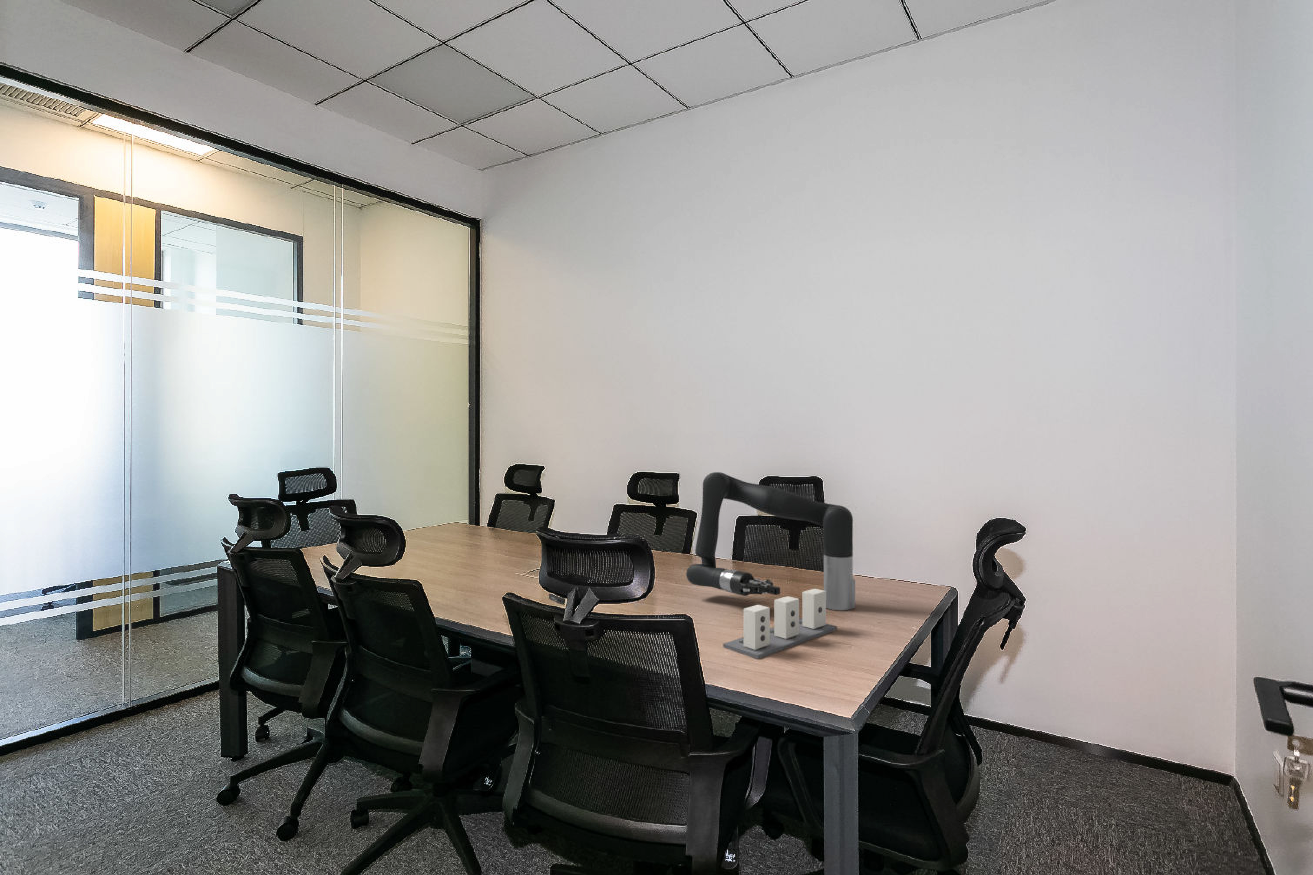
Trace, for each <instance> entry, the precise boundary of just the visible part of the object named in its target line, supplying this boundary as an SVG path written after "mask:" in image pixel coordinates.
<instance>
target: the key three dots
mask: <svg viewBox="0 0 1313 875" xmlns="http://www.w3.org/2000/svg"><path fill="white" fill-rule="evenodd" d="M770 612H771V611H770V607H768V606H765V605H761V604H756V605H752V606H748V607H744V608H743V612H742V613H743V637H744V646H745V647H748V648H751V649H754V650H756V649H759V648H762V647H764V646H767V645H770V628H771V627H770V625H771V624H770V623H771V620H770V619H771V618H770V617H771V616H770V615H771V613H770Z"/></svg>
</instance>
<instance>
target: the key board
mask: <svg viewBox="0 0 1313 875" xmlns="http://www.w3.org/2000/svg"><path fill="white" fill-rule="evenodd" d="M837 630H838V626H836V625H833V624H830V623H827V622H826V625H824V626H821V627H818V628H815V629H812V628H808V627H805V626H802V617H799V634H798V635H796V636H793V637H790V638H787V639H784V638H781V637H778V636H775V635H774V626H773V627H770V645H767V646H764V647H762V648H759V649H756V650H754V649H751V648H748V647H745V646H744V636H743V637H740V638H737V639H734V640H730V641H727V642H724V643H723V649H727V650H730V651H733V652H736V653H738V654H741V655H744V656H748V657H750V658H753V659H756V660H759V659H762V658H765V657H767V656H770V655H772V654H773V655H774V654H776V653H778V652H780V651H784V650H786V649H789V648H792V647H794V646H797V645H799V644H802V643H804V642H808V641H810V640H811V641H812V640H813V639H815V638H819V637H821V636H824V635H826V634H829V633H832V632H834V631H837Z"/></svg>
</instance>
